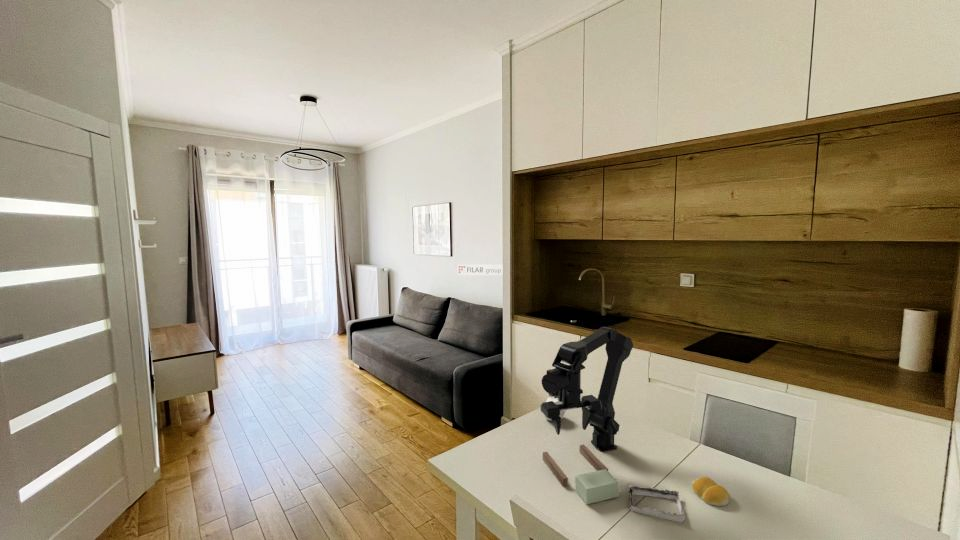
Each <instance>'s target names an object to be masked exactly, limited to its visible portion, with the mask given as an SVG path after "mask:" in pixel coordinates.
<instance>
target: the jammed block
mask: <svg viewBox="0 0 960 540" xmlns="http://www.w3.org/2000/svg"><path fill="white" fill-rule="evenodd" d="M574 483H575V484H574V485H575V489H574V490H575V492H576V493H577V495H579V497H580V498H581V500H582V501H583V502H584V503H585V504H586V505H589V504H593V503H597V502H602V501H606V500H610V499H614V498H619V481H618V480H617V479H616V478H615V477H614V476H613V475H612V473H610V471H609V470H608V471H607V470H606V469H604V470H599V471H597V470H595V471H594V470H593V471H590V472H586V473H581V474H576V475H575V480H574Z"/></svg>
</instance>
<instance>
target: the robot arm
mask: <svg viewBox="0 0 960 540" xmlns="http://www.w3.org/2000/svg"><path fill="white" fill-rule="evenodd" d="M604 345H605V352H606V356H607V360H606V365H605V367H604V368H605V369H604V372H603V377H602V379H601V383H600V388H599V392H598V394H597V397H596V396H594V395H593V394H589V395H582V394H584V391H583V389H582V387H581V385H582V384H581V381H582V380H581V379H582V376H581V373H582V370H585V369H586V366H585V365H584V364H583V363H584V362H586V361H587V359H588V357H589V355H590V354H591V353H592V352H594V351H595V350H597V349H599V348H601V347H602V346H604ZM633 348H634V343H633V341H632V339H631V337H630V336H625V335H624V334H622V333H620V332H618V330H615V329H614V328H611V327H606V326H600V327H599V329H598V330H596V331H594V332H592V333H590V334H589V335H588V336H587V335H586V336H584V338H582V339H580V340H578V341H577V340H576V341H569V342H565V343H563V344H561V346H560V347H559V349H558V350H557V353H556V356H555V358H554V359H553V362H552V364H551V367H554V368H552V369H547V370H546V373H545V374H543V376H542V378H541V386H542V388H543V390H544V391H545V392H546V393H547V394H548V395H549V397H550V398H555V399H558V401H560V402H562V404H558V405H556V404H555V403H554V402H553V401H550V402H546V401H545V402H542V403H541V404H540V412H541V413H542V414H543V415H544V417H545V416H546V417H547V418H550V419H551V420H552V421H551V422H552V424H553V427H554V429H555V433H556V435H558V436H560V432H561V422H562V419H561V417H560V416H559V415H560V411H563V410H566V411H569V410H575V409H580V408H581V411H582V414H581V415H582V416H581V417H582V418H581V421H582V423H581V424H582V425H581V426H582V430H584V431H585V430H586V429H587V428H588V426H590V427H593V431H592V438H591V439H592V440H590V443H591V444H592V445H593V446H594V447H595V448H596V449H597V450H598V451H600V452H606V451H612V450H615V449H618V446H617V444H615V436H616V435H617V433H619V430H620V424H619V423H618V422H617V421H616V420H615V418H616V417H615V416H616V412H615V408H614V405H613V402H614V397H615V395H616V389H617V385H618V382H619V378H620V374H621V372H622V371H621V370H622V365H623V362H625V361H626V360H627V359H628V357H630V355H631V352H632V351H633ZM565 363H566V364H565ZM581 395H582V396H581ZM546 417H545V418H546Z"/></svg>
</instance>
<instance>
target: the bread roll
mask: <svg viewBox="0 0 960 540" xmlns="http://www.w3.org/2000/svg"><path fill="white" fill-rule="evenodd" d="M691 489H692V491H693V493H695V495H696V496H697V497H698V498H699V499H702V501H703V502H705V503H707V505H711V506H719V507H723V506H727V505H728V504H729V501H730V494H729V492H728V490H727V489H726V487H725V486H722V485H719V484H718V483H717V481H715V480H714V479H712V478H710V477H706V476H703V477H699V478H697V479H695V480H694V481H692V483H691Z"/></svg>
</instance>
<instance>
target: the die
mask: <svg viewBox="0 0 960 540" xmlns="http://www.w3.org/2000/svg"><path fill="white" fill-rule="evenodd" d="M550 401H553V402H554V403H555V404H556V405H558V404H562V402H560V401H558V398H554V397H547V399H546V400H545V402H550ZM566 411H567V410H563V411H560V415H559V416H560V417H561V420H562V419H563V418H564V416H565V414H566ZM544 417H545V420H546V421H551V422H552V420H551V419H550V418H547V417H546V416H545V415H544Z"/></svg>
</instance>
